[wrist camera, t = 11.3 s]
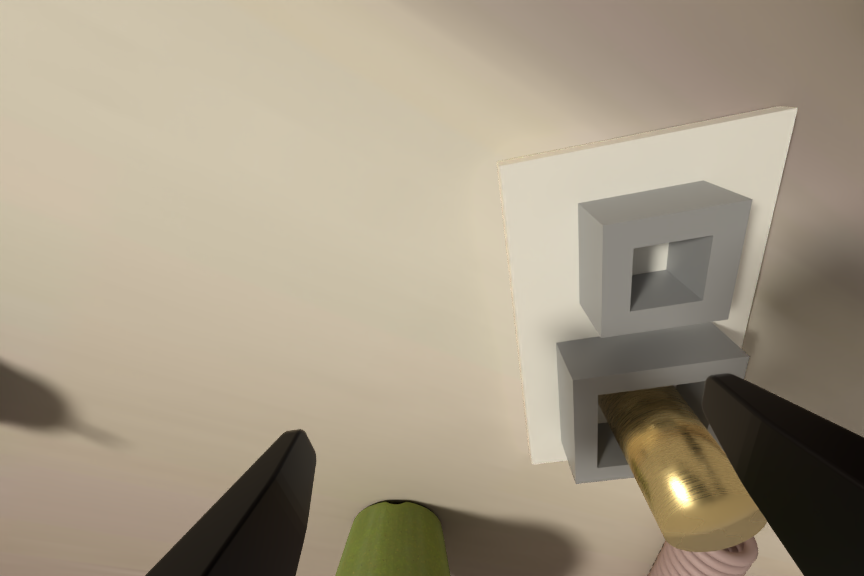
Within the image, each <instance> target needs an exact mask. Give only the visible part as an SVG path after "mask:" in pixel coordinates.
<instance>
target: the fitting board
mask: <svg viewBox="0 0 864 576" xmlns="http://www.w3.org/2000/svg"><path fill="white" fill-rule="evenodd" d="M797 109H798V108H795V107H783V106H777V107H772V108H767V109H761V110H756V111H751V112H746V113H741V114H736V115H731V116H726V117H721V118H716V119H711V120H706V121H701V122H696V123H691V124H686V125H680V126H675V127H670V128H665V129H660V130H655V131H650V132H645V133H640V134H635V135H630V136H625V137H620V138H615V139H610V140H604V141H599V142H594V143H589V144H584V145H579V146H574V147H569V148H564V149H559V150H554V151H549V152H544V153H539V154H534V155H528V156H523V157H518V158H513V159H508V160H503V161H498V162H497V171H498V180H499V189H500V198H501V206H502V215H503V224H504V233H505V242H506V251H507V260H508V269H509V278H510V287H511V295H512V304H513V313H514V322H515V331H516V340H517V349H518V358H519V367H520V375H521V384H522V393H523V402H524V411H525V420H526V429H527V438H528V447H529V454H530V458H531V462H532V465H533V464H542V463H550V462H559V461H567V460H568V463H569V466H570V468H571V471H572V474H573V477H574V480H575V483H576V484H579V483H588V482H597V481H607V480H616V479H625V478H634V475H633V473H632V471H631V469H630V467H629V465H628V463H627V461H626V459H625V457H624V455H623V453H622V451H621V449H620V447H619V445H618V443H617V441H616V438H615V436H614V434H613V432H612V430H611V428H610V426H609V424H608V422H607V420H606V418H605V416H604V414H603V412H602V410H601V408H600V406H599V404H598V395H603V394H611V393H618V392H626V391H634V390H641V389H649V388H656V387H664V386H672V385H673V386H674V387H675V388H676V390H677V391H678V392H679V393H680V395H681V396H682V397H683V399H684V400H685V401H686V403H687V404H688V405H689V406H690V408H691V409H692V410H693V412H694V413H695V414H696V416H697V417H698V418H699V420H700V421H701V422H702V423H703V425H704V426H705V427H706V429H707V430H708V431H709V433H710V434H711V435H712V436H713V438H714V439H715V440H716V442H717V443H718V444H719V446H720V447H721V448H722V446H721V445H720V443H719V441H718V439H717V437H716V435H715V434H714V432H713V430H712V428H711V426H710V424H709V423H708V421H707V419H706V417H705V415H704V413H703V410H702V397H703V392H704V387H705V381H706V379H707V377H708V376H710V375H715V374H723V373H730V374H733V375H736V376H738V377H740V378H742V379H744V377H745V373H746V369H747V365H748V361H749V357H750V356H749V355H748V354H747V353H746V352H744V351H743V350H742V345H743V341H744V336H745V332H746V328H747V323H748V319H749V315H750V311H751V306H752V302H753V298H754V293H755V289H756V285H757V281H758V276H759V272H760V268H761V263H762V259H763V255H764V251H765V246H766V242H767V238H768V233H769V229H770V225H771V221H772V216H773V212H774V208H775V203H776V199H777V195H778V191H779V186H780V182H781V178H782V173H783V169H784V165H785V161H786V156H787V152H788V148H789V143H790V139H791V135H792V131H793V126H794V122H795V118H796V113H797ZM722 450H723V448H722ZM723 451H724V450H723Z"/></svg>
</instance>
